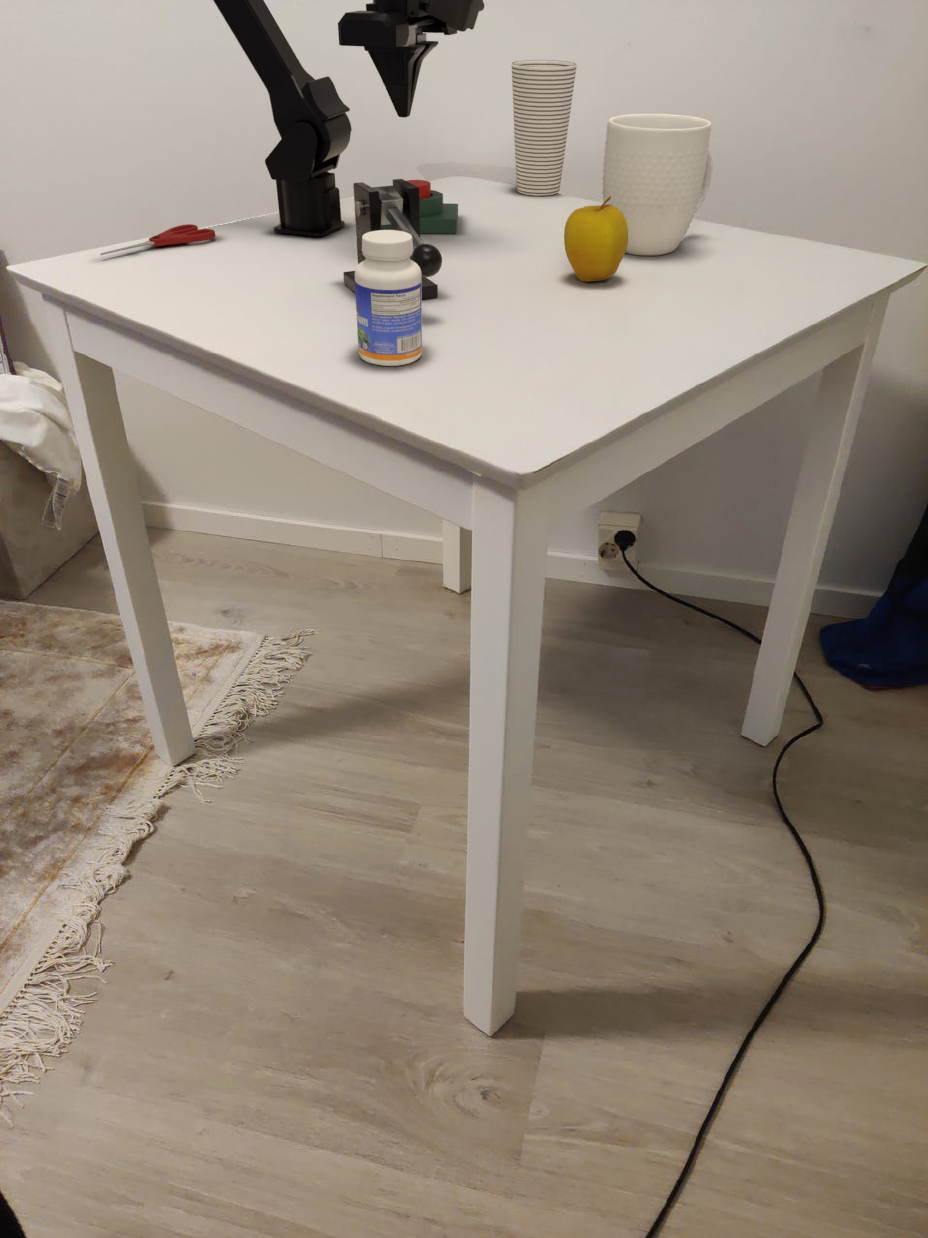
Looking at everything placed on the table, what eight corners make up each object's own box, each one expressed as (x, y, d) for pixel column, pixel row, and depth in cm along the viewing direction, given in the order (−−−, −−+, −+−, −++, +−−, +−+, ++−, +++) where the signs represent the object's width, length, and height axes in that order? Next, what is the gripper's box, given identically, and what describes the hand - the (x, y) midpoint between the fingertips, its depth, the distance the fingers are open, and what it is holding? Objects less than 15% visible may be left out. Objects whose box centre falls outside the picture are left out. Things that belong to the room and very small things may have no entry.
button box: (372, 232, 114) (371, 201, 112) (379, 216, 120) (377, 187, 118) (456, 233, 114) (456, 202, 112) (458, 217, 120) (458, 187, 118)
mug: (662, 226, 117) (677, 106, 109) (735, 245, 110) (756, 118, 102) (576, 246, 109) (585, 118, 102) (648, 267, 102) (664, 132, 95)
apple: (630, 275, 100) (639, 193, 95) (612, 291, 95) (620, 206, 91) (573, 267, 102) (579, 187, 98) (552, 283, 97) (557, 200, 93)
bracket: (437, 297, 94) (436, 190, 88) (371, 306, 91) (365, 196, 85) (407, 275, 99) (404, 174, 94) (343, 283, 97) (336, 179, 91)
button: (399, 201, 114) (399, 185, 113) (402, 194, 117) (401, 179, 116) (430, 201, 114) (429, 185, 113) (431, 195, 117) (431, 179, 116)
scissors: (219, 238, 111) (218, 229, 110) (115, 263, 102) (113, 253, 101) (190, 230, 114) (189, 221, 113) (87, 254, 105) (85, 245, 104)
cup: (503, 196, 130) (507, 65, 121) (511, 183, 137) (515, 58, 128) (565, 199, 129) (574, 67, 120) (570, 186, 136) (578, 60, 127)
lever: (445, 281, 86) (448, 252, 84) (416, 284, 85) (419, 255, 83) (394, 210, 93) (396, 182, 91) (367, 213, 92) (368, 185, 90)
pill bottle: (359, 345, 82) (352, 227, 77) (421, 343, 83) (419, 226, 77) (358, 368, 78) (351, 244, 72) (424, 366, 78) (422, 243, 73)
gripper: (441, -57, 86) (443, 134, 95) (503, -58, 101) (499, 108, 110) (330, -58, 89) (342, 128, 98) (405, -58, 104) (409, 103, 113)
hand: (404, 116), depth 105 cm, fingers closed
